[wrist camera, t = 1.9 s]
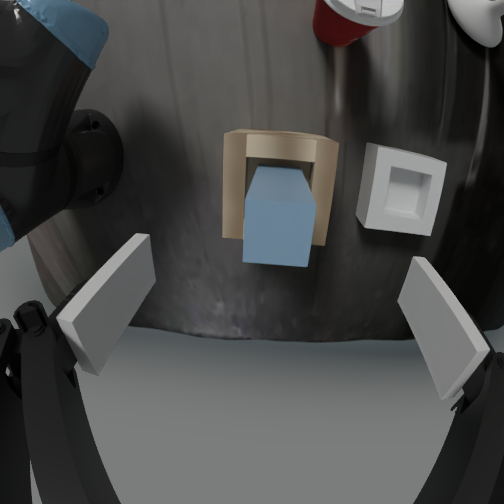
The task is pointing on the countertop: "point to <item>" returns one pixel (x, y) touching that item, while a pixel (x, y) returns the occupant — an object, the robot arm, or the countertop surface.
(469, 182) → the countertop surface
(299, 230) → the plug
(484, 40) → the flower in vase
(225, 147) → the block
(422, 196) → the block
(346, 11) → the paper cup
